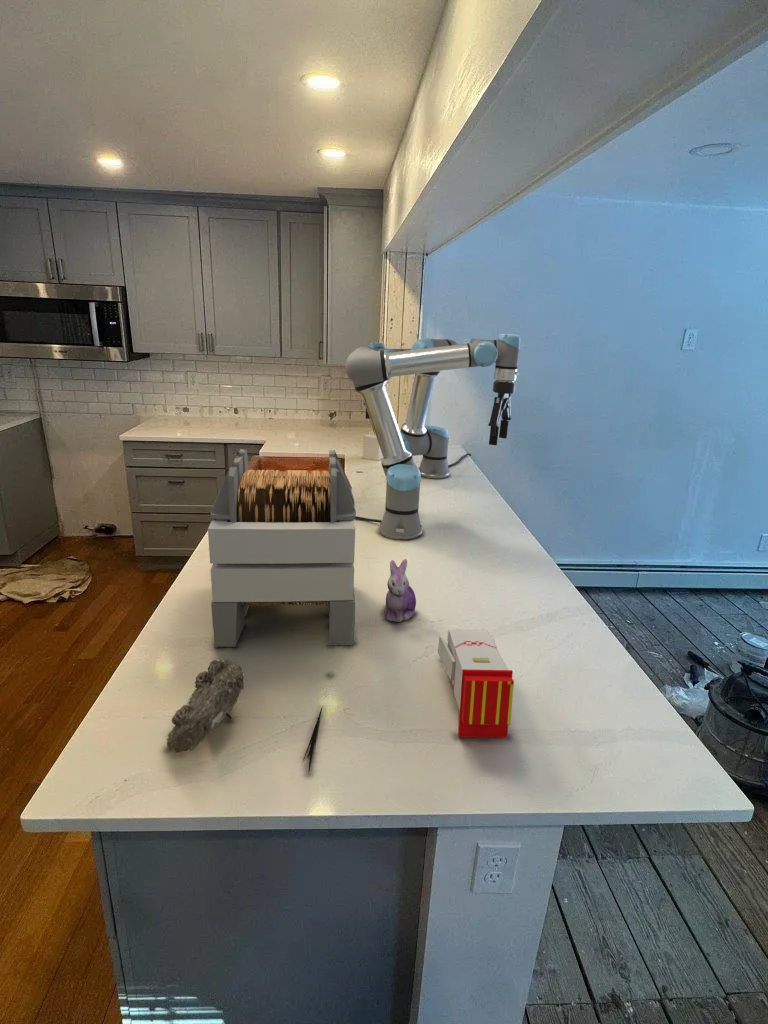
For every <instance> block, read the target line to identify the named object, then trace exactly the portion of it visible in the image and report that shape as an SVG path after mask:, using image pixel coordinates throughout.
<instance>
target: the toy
mask: <svg viewBox="0 0 768 1024" xmlns="http://www.w3.org/2000/svg"><path fill="white" fill-rule="evenodd" d="M446 640H447V643H446V641H445V639H444V636H443V635H442V634H439V637H438V646H437V656H438V657H439V659H440V661H441V663H442V666H443V668H444V670H445V672H446V674H447V677H448V679H449V681H450V684H451V687H452V690H453V693H454V697H455V701H456V705H457V708H458V711H459V714H458V715H459V716H458V730H457V731H458V732H457V737H458V738H508V731H509V726H510V725H511V717H512V707H513V697H514V696H513V695H514V684H515V680H514V679H513V673H514V671H513V670H512V669H508V667H507V665H506V662H505V661H504V659H503V658H502V655H501V653H500V651H499V649H498V647H497V643H496V639H495V637H494V635H493V634H491V632H490V631H489V629H467V628H466V629H465V628H463V629H461V628H460V629H459V628H448V630H447V639H446Z"/></svg>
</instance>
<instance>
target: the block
mask: <svg viewBox="0 0 768 1024" xmlns="http://www.w3.org/2000/svg"><path fill="white" fill-rule="evenodd" d="M362 439H363V441H362V443H363V444H362V458H363V459H367V460H373V461H380V460H383V454H382V452H381V449H380V446H379V443H378V440H377V437H376V434H371V433H368V434H366V435H363V437H362Z"/></svg>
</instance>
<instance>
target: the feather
mask: <svg viewBox="0 0 768 1024" xmlns="http://www.w3.org/2000/svg"><path fill="white" fill-rule="evenodd" d="M329 675H330V676H331V675H332V674H331V673H330V674H329ZM322 710H323V707H321V708H320V710H319V713H318V716H317V719H316V723H315V725H314V728H313V731H312V733H311V737H310V739H309V742H308V745H307V748H306V751H305V754H304V757H303V760H302V763H301V767H302V765H303V763H304V761H305V758H308V759H309V760H308V762H307V763H308V764H307V766H308V771H310V770H311V766H312V765H311V764H312V760H313V757H315V756H314V755H315V751H316V749H315V746H317V739H318V733H319V729H320V722H321V717H322V712H323V711H322ZM313 754H314V755H313ZM306 755H307V757H306Z"/></svg>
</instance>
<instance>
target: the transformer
mask: <svg viewBox="0 0 768 1024" xmlns="http://www.w3.org/2000/svg"><path fill="white" fill-rule="evenodd" d="M328 450H329V451H328V470H322V471H320V470H315V469H314V470H312V471H308V470H307V469H305V470H304V469H303V470H302V469H286V470H280V469H276V470H275V469H266V470H265V469H256V470H255V469H249V459H248V449H243V448H239V451H238V452H237V455H236V456H235V457H234V460H233V462H232V464H231V466H230V467H229V468H228V471H227V473H226V475H225V477H224V480H223V481H222V484H221V485H220V489H219V491H218V493H217V495H216V498H215V499H214V501H213V504H212V507H211V509H210V519H212V520H211V522H210V524H209V526H208V528H207V535H208V536H207V537H208V552H209V553H208V554H209V564H212V565H211V568H210V581H211V597H212V598H211V599H212V600H211V604H210V607H211V622H212V623H211V624H212V631H213V644H212V645H213V647H214V648H219V649H220V648H222V647H223V648H224V647H226V648H227V647H230V648H232V647H234V648H235V647H236V646H237V644H238V641H239V639H240V636H241V634H242V631H243V629H244V627H245V616H247V615H248V609H249V607H250V606H298V605H299V606H303V605H304V606H306V605H307V606H309V605H317V606H318V605H320V606H321V605H328V634H329V635H328V637H329V645H330V646H335V645H337V646H340V645H341V646H351V645H353V644H355V633H356V632H355V630H356V595H355V588H354V587H355V586H354V585H355V565H354V564H355V550H356V549H355V548H356V526H355V525H356V524H355V519H354V518H355V517H356V516H357V510H356V504H355V498H354V494H353V487H352V485H351V483H350V480H349V479H348V476H347V474H346V472H345V470H344V468H343V466H342V463H341V462H340V459H339V457H338V455H337V453H336V450H333V449H328Z"/></svg>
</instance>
